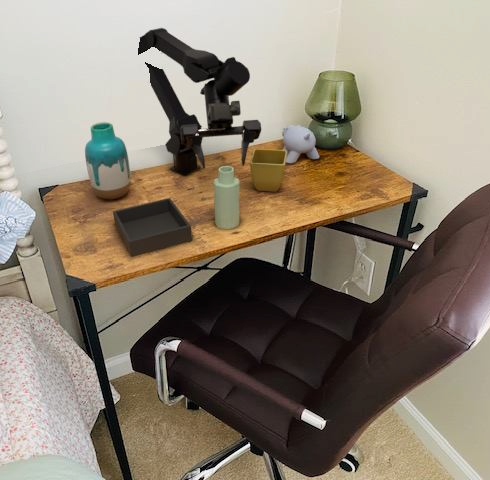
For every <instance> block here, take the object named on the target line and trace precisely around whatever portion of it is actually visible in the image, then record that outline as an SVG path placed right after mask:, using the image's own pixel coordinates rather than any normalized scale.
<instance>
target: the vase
mask: <svg viewBox="0 0 490 480" xmlns="http://www.w3.org/2000/svg"><path fill="white" fill-rule="evenodd" d="M90 134H91V139H90V140H89V141H88V142H87V143H86V144H85V147H84V157H85V164H86V170H87V175H88V178H89V183H90V187H91V188H92V190H93V192H94V193H95V194H96V195H97V196H98V197H99V198H101V199H105V200H116V199H120V198H121V197H123V196H125V195H126V194H127V193H128V191H129V190H130V187H131V179H132V178H131V167H130V159H129V155H128V149H127V147H126V144H125V142H124V141H123V139H121V137H118V136H116V134H115V130H114V126H113V124H112V123H110V122H105V121H103V122H96V123H93V124H92V125H91V126H90Z"/></svg>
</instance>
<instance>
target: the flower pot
mask: <svg viewBox="0 0 490 480" xmlns="http://www.w3.org/2000/svg"><path fill="white" fill-rule="evenodd" d="M286 156H287V150H282V149H270V148H269V149H268V148H267V149H266V148H254V149H253V150H252V155H251V159H250V161H249V167H250V178H251V182H252V184H253V186H254V188H255V189H256V191H258V192H272V193H274V192H275V193H276V192H278V190H279V189H280V188H281V185H282V183H283V180H284V174H285V169H286V164H287V163H286Z"/></svg>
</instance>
